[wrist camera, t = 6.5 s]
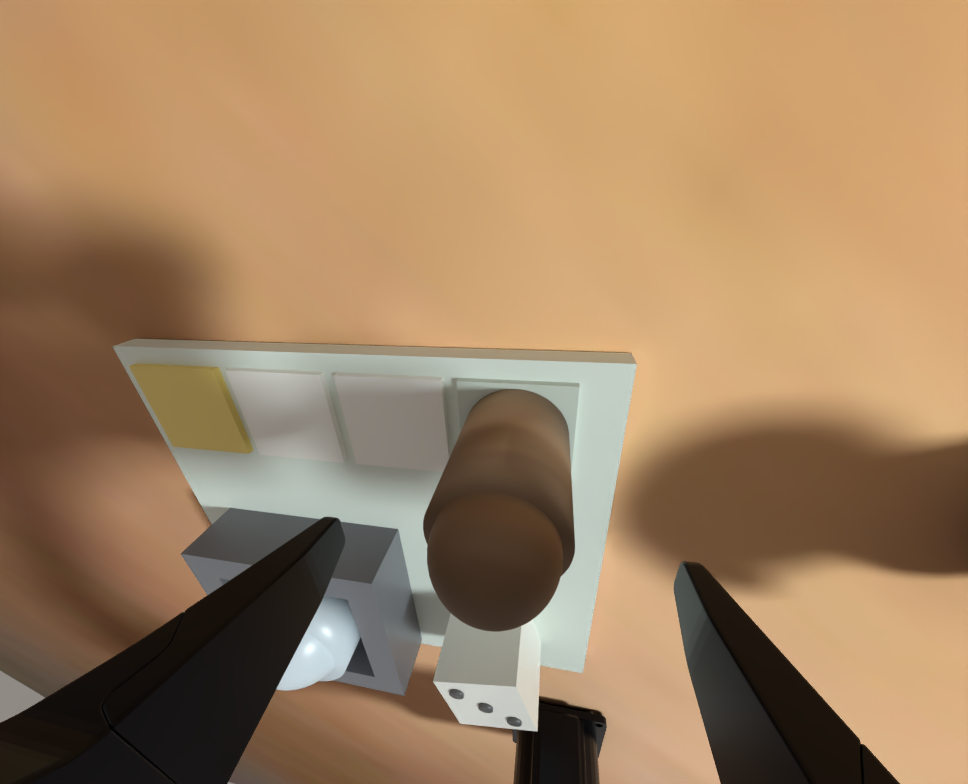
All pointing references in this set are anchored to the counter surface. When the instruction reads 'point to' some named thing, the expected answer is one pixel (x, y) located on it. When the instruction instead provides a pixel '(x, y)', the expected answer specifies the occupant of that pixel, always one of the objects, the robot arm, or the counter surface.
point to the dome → (323, 646)
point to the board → (381, 442)
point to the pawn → (503, 513)
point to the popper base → (330, 586)
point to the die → (491, 675)
